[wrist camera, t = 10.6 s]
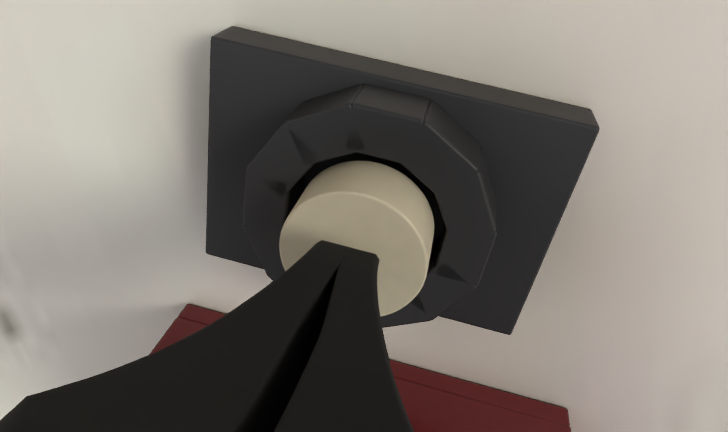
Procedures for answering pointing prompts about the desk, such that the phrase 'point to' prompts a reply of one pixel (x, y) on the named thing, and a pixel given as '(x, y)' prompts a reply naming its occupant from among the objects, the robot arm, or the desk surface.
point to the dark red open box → (429, 394)
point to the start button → (366, 225)
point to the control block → (392, 164)
